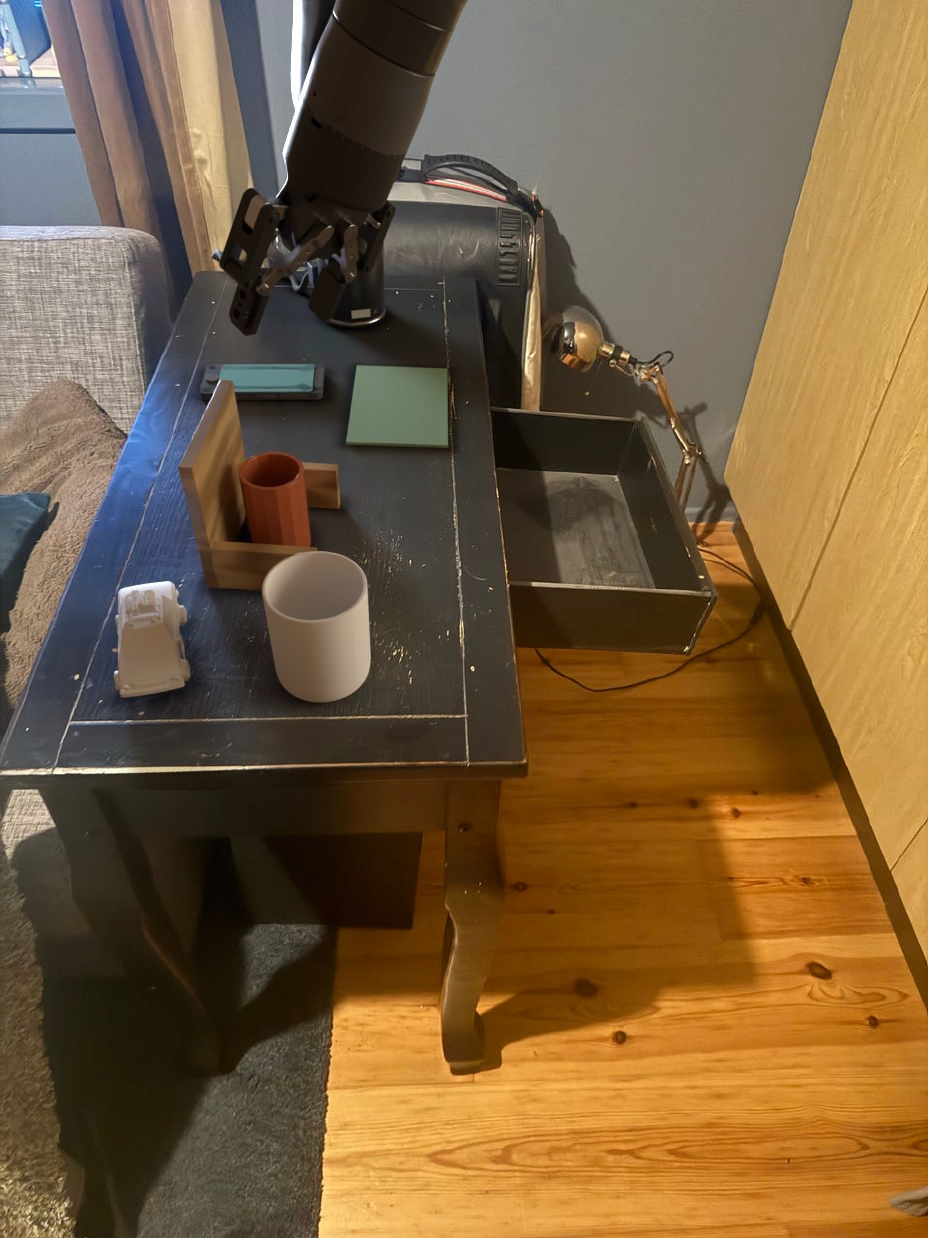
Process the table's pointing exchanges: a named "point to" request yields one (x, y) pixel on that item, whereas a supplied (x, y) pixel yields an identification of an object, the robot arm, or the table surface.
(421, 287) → the table surface
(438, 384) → the mat
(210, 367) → the smartphone
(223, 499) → the cubby
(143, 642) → the toy car
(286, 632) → the mug
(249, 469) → the cup
